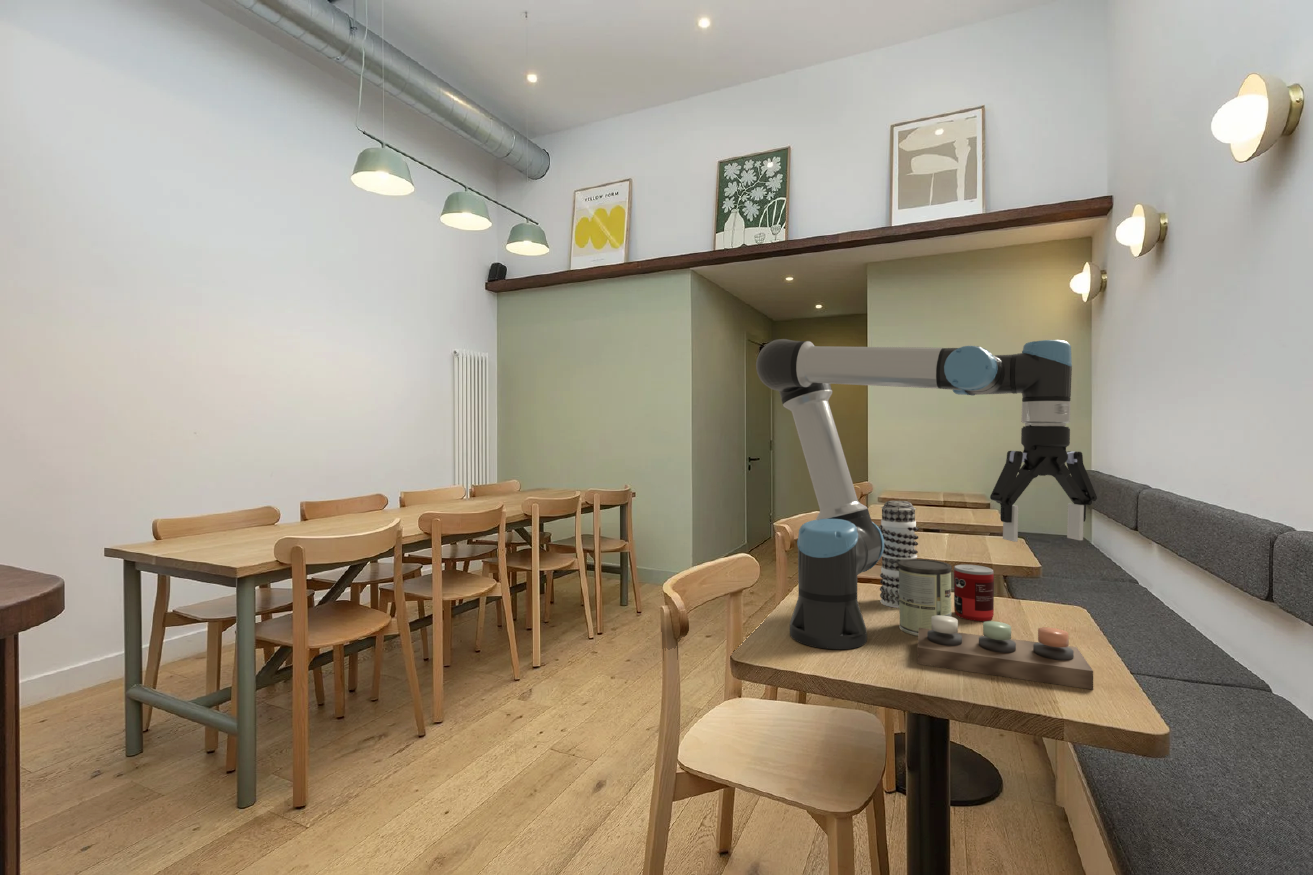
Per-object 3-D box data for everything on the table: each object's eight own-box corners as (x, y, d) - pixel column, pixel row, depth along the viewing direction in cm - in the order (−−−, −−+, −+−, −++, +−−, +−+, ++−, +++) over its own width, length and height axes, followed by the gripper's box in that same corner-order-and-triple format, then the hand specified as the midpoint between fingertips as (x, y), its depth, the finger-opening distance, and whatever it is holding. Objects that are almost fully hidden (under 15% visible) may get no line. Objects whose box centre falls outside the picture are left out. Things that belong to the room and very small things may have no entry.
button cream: (931, 631, 109) (931, 620, 109) (931, 624, 113) (931, 614, 113) (958, 634, 107) (958, 623, 107) (957, 627, 111) (957, 617, 111)
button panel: (917, 663, 106) (917, 641, 106) (918, 642, 117) (918, 622, 117) (1093, 689, 95) (1093, 664, 95) (1076, 663, 106) (1076, 640, 106)
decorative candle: (908, 598, 149) (908, 499, 149) (926, 608, 140) (925, 503, 140) (872, 598, 149) (872, 499, 149) (888, 609, 140) (887, 504, 140)
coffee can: (899, 620, 132) (899, 557, 132) (951, 626, 127) (950, 560, 127) (897, 634, 122) (897, 566, 122) (952, 641, 118) (952, 570, 118)
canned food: (957, 609, 140) (956, 562, 140) (995, 615, 135) (995, 567, 135) (951, 617, 133) (951, 568, 133) (991, 623, 129) (991, 573, 129)
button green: (984, 638, 105) (984, 626, 105) (982, 630, 109) (982, 619, 109) (1012, 641, 103) (1012, 630, 103) (1009, 633, 107) (1009, 622, 107)
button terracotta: (1040, 645, 101) (1040, 633, 101) (1036, 637, 105) (1036, 625, 105) (1071, 648, 100) (1071, 636, 100) (1065, 640, 104) (1065, 629, 104)
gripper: (999, 424, 103) (997, 544, 103) (1122, 426, 107) (1119, 542, 107) (970, 424, 111) (968, 536, 111) (1086, 426, 115) (1083, 534, 115)
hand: (1042, 539), depth 109 cm, fingers open, 13 cm apart
